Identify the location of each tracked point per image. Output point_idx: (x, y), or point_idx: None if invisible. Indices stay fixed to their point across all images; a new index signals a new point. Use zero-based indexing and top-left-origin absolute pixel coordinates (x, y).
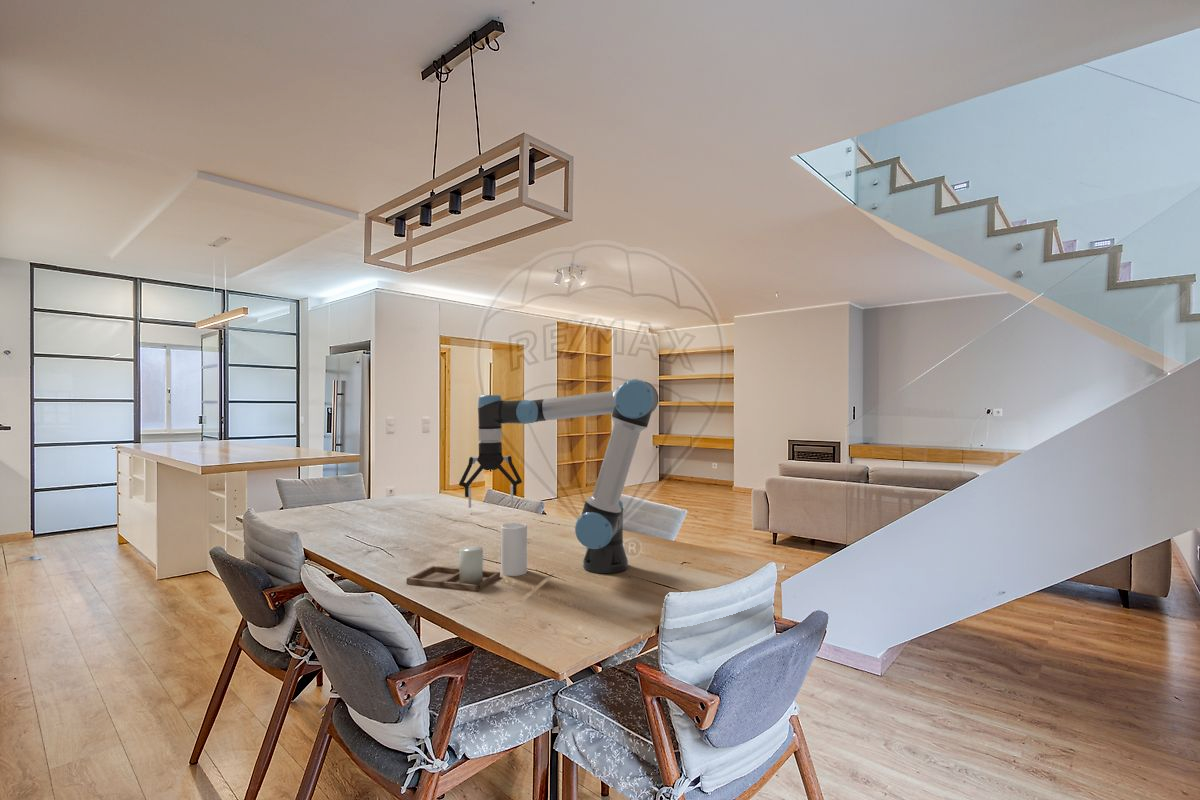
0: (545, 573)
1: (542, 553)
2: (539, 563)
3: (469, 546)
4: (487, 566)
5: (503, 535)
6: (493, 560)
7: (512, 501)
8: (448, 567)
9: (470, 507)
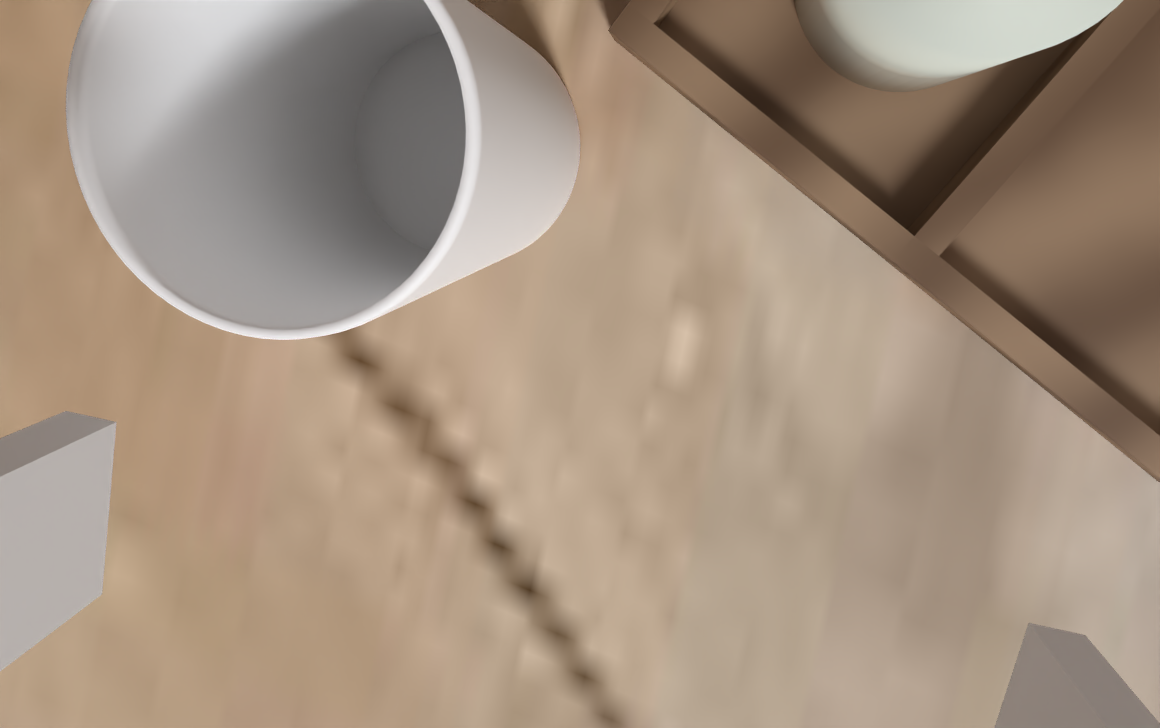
0: None
1: (101, 685)
2: (181, 407)
3: (994, 44)
4: (633, 498)
5: (489, 57)
6: (544, 653)
7: (16, 443)
8: (1056, 383)
9: (1045, 626)
